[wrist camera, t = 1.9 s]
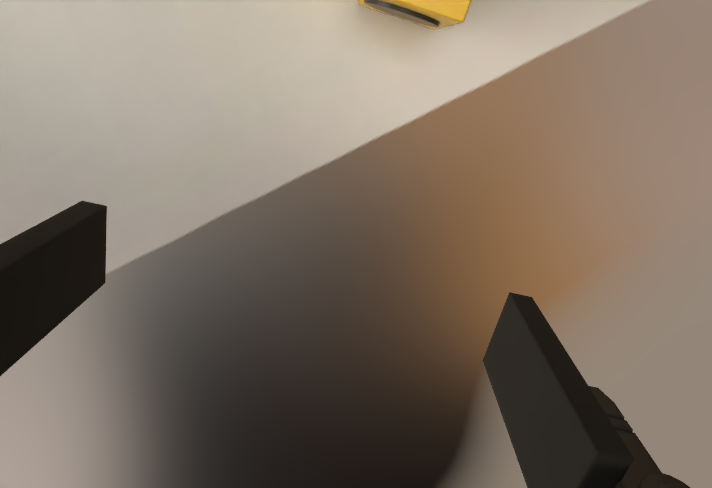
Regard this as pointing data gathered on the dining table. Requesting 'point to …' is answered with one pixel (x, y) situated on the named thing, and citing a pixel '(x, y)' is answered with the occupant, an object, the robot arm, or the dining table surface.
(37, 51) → the dining table surface
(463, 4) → the yellow rectangular block
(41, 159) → the dining table surface
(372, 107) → the dining table surface
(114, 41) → the dining table surface
